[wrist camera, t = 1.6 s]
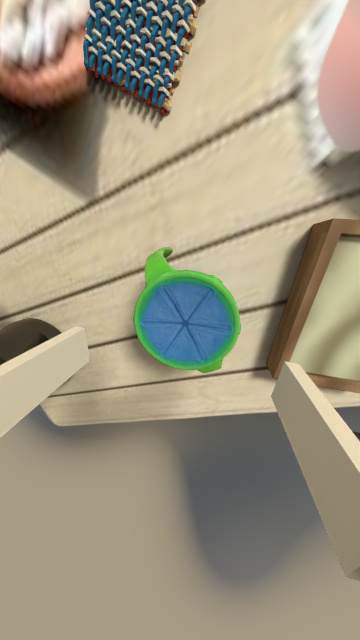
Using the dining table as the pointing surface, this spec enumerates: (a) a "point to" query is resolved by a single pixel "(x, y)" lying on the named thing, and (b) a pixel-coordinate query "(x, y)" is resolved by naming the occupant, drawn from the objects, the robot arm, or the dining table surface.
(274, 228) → the dining table surface
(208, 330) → the snack cup
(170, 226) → the dining table surface
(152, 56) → the woven mat
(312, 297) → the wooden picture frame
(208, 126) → the dining table surface
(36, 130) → the dining table surface
